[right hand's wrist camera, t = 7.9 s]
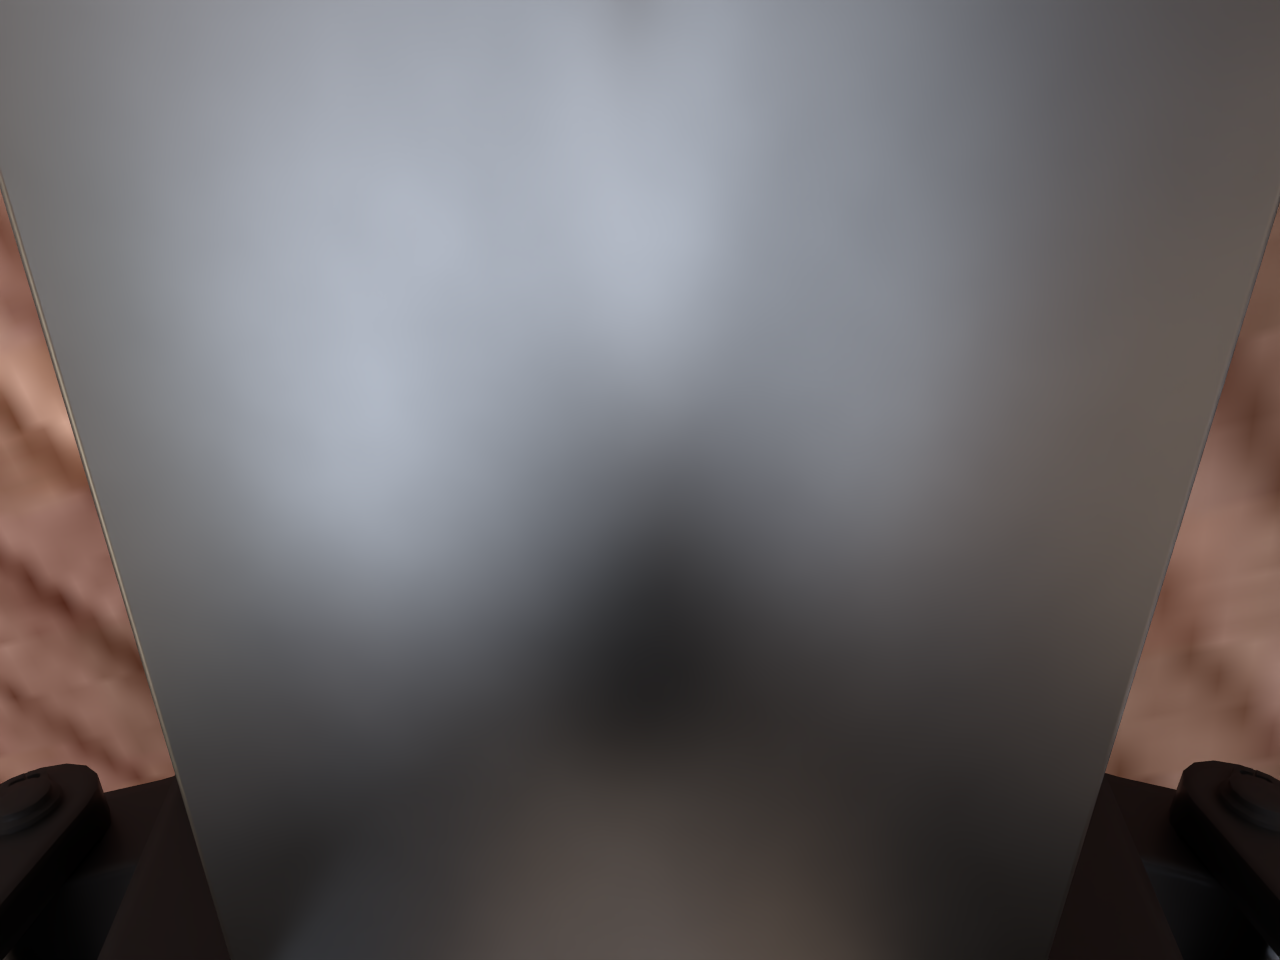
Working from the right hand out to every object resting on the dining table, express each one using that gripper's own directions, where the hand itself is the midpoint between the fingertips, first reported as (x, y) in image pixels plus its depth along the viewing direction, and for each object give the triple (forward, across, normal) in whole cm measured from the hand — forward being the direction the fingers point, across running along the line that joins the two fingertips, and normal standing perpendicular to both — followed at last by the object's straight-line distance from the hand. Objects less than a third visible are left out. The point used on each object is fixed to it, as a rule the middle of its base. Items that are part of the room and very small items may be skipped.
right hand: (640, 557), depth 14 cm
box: (+2, 0, -8) cm, 9 cm away
